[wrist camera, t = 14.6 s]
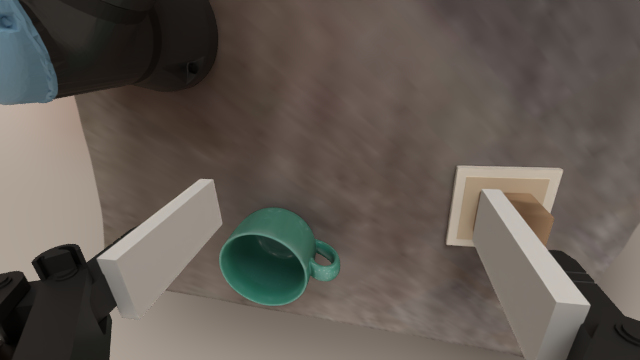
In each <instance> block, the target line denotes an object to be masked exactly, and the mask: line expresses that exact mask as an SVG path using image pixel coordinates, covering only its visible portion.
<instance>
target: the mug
mask: <svg viewBox="0 0 640 360" xmlns="http://www.w3.org/2000/svg"><path fill="white" fill-rule="evenodd" d="M316 253H318V254H320V255H322V256H324V257H325V258H327V259H328V260H329V261H330V262H331V263H332V264H331V265H329V266H322V265H319V264H317V263H316V262H315V261H314V260H315V255H316ZM219 264H220V269H221V271H222V274H223V276H224V278H225V279H226V281H227V282H228V284H229V285H230V286H231V287H232V288H233V289H234V290H235V291H236V292H237V293H239V294H240V295H242V296H243V297H245V298H247V299H249V300H251V301H253V302H256V303H259V304H263V305H268V306H280V305H285V304H288V303H291V302H293V301H295V300H296V299H298V298H299V297H300V296H301V295H302V294H303V292H304V291H305V289H306V286H307V284H308V281H309V278H310V276H312V277H313V278H315V279H317V280H320V281H330V280H333V279H334V278H335V277H336V276H337V275H338V273H339V271H340V259H339V256H338V254H337V252H336V251H335V250H334V249H333V248H332V247H331V246H330V245H328V244H326V243H325V242H322V241H320V240H317V239H315V238H314V235H313V233H312V231H311V229H310V227H309V226H308V225H307V223H306V222H305V221H304V220H303V219H302V218H301V217H299V216H298V215H296V214H295V213H293V212H291V211H289V210H286V209H282V208H274V207H273V208H264V209H260V210H258V211H255V212H253V213H252V214H250V215H249V216H248V217H246V218H245V219H244V220H243V221H242V222H241V223H240V225H239V226H238V227H237V228H236V229H235V230H234V232H233V233H232V234H231V236H230V237H229V238H228V240H227V241H226V242H225V244H224V245H223V247H222V249H221V252H220V256H219Z"/></svg>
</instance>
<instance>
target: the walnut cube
mask: <svg viewBox="0 0 640 360" xmlns="http://www.w3.org/2000/svg"><path fill="white" fill-rule="evenodd" d="M503 194H504V195H505V196H506V198H507V199H508V200H509V201H510V203H511V204H512V205H513V206H514V208H515V209H516V210H517V212H518V213H519V214H520V215H521V217H522V218H523V219H524V221H525V222H526V223H527V224H528V226H529V227H530V228H531V230H532V231H533V232H534V233H535V235H536V236H537V237H538V238H539V240H540V241H541V242H542V244H543V245H544V246H545V247H546V243H547V240H548V237H549V234H550V231H551V227H552V224H553V221H554V217H553V216H552V215H551V214H550V213H549V212H548V211H547V210H546V209H545V208H544V207H543V206H542V205H541V204H540V203H539V202H538V200H537V199H536V198H535V197H534V196H533V195H532V194H530V193H505V192H503ZM480 195H481V192H480V194H479V199H478V204H477V210H476V215H475V220H474V226H473V232H474V227H475V222H476V216H477V211H478V206H479V200H480Z"/></svg>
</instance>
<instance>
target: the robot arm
mask: <svg viewBox="0 0 640 360" xmlns="http://www.w3.org/2000/svg"><path fill="white" fill-rule="evenodd" d="M217 46H218V33H217V25H216V20H215V16H214V13H213V10H212V8H211V5H210V3H209V1H208V0H0V104H2V105H14V104H25V103H37V102H38V103H47V102H50V101H52V99H57V98H62V97H67V96H73V95H78V94H84V93H89V92H94V91H100V90H105V89H110V88H116V87H121V86H126V85H131V84H132V85H136V86H140V87H144V88H148V89H152V90H156V91H162V92H172V91H178V90H182V89H186V88H189V87H192V86H194V85H196V84H197V83H199V82H200V81H201V80H202V79H203V78H204V77H205V76H206V75H207V74H208V72H209V71H210V69H211V67H212V65H213V63H214V60H215V57H216V52H217ZM222 224H223V223H222V219H221V214H220V209H219V204H218V199H217V194H216V190H215V185H214V180H213V179H199V180H198V181H197V182H196V183H194V184H193V185H192V186H190V187H189V188H188V189H186V190H185V191H184V192H182V193H181V194H180V195H179V196H177V197H176V198H175V199H173V200H172V201H171V202H169V203H168V204H167V205H166V206H164V207H163V208H162V209H160V210H159V211H158V212H156V213H155V214H154V215H153V216H151V217H150V218H149V219H147V220H146V221H145V222H143V223H142V224H141V225H139V226H137V227H135V228H132V229H130V230H129V231H128V232H126V233H125V234H124V235H122V236H121V238H118V239H117V240H116V241H114V242H113V244H111V245H109V246H108V247H107V248H105V249H104V250H103V251H101V252H100V253H99V254H97V255H96V256H95V257H93V258H92V259H91V260H89V261H88V262H87V263H86V261H85V258H84V256H83V254H82V252H81V249H80V247H79V246H78V245H76V244H66V245H61V246H57V247H54V248H52V249H49V250H47V251H45V252H43V253H41V254H40V255H39V256H37V257H36V258H35V259H34V260H33V261H32V265H33V266H34V268H35V270H36V272H37V274H38V276H39V278H40V279H41V280H39V281H32V282H28V281H27V279H26V277H25V276H24V274H23V272H20V271H13V272H8V273H3V274H0V360H109V357H110V342H111V327H112V319H111V316H110V314H109V313H110V312H111V311H112V310H113V309H114V308H115V307H116V306H117V308H118V310H119V312H120V315H121V317H122V318H128V319H136V320H140V319H141V318H142V316H143V315H144V314H145V313H146V312H147V311H148V310H149V308H150V307H151V306H152V305H153V304H154V303H155V301H156V300H157V299H158V298H159V297H160V295H162V293H163V292H164V291H165V290H166V289H167V288H168V286H169V285H170V284H171V283H172V282H173V281H174V279H175V278H176V277H177V276H178V275H179V274H180V273H181V271H182V270H183V269H184V268H185V267H186V266H187V264H188V263H189V262H190V261H191V260H192V259H193V258H194V256H195V255H196V254H197V253H198V252H199V251H200V249H201V248H202V247H203V246H204V245H205V244H206V243H207V241H208V240H209V239H210V238H211V237H212V236H213V234H214V233H215V232H216V231H217V230H218V229H219V227H220V226H221V225H222ZM472 241H473V243H474V245H475V248H476V250H477V252H478V254H479V257H480V259H481V261H482V263H483V266H484V268H485V270H486V272H487V275H488V277H489V279H490V281H491V284H492V286H493V288H494V290H495V293H496V295H497V297H498V299H499V302H500V304H501V306H502V308H503V311H504V313H505V315H506V317H507V320H508V322H509V324H510V326H511V328H512V331H513V333H514V335H515V337H516V340H517V342H518V344H519V346H520V349H521V351H522V353H523V355H524V358H525V360H640V321H638V320H635V319H632V318H629V317H626V316H624V315H623V314H622V312H621V311H620V310H619V309H618V308H617V307H616V306H615V304H614V303H613V302H612V301H611V300H610V299H609V298H608V296H607V295H606V294H605V293H604V292H603V291H602V290H601V288H600V287H599V286H598V285H597V284H595V283H594V280H593V279H592V278H591V277H590V276H589V275H588V274H586V271H585V270H584V269H583V268H582V267H581V265H580V264H579V263H578V262H577V261H576V260H574V259H573V258H571V257H570V256H568V255H567V254H565V253H564V252H562V251H556V250H547V249H546V247H545V246H544V245H543V244H542V242H541V241H540V240H539V238H538V237H537V236H536V235H535V233H534V232H533V231H532V230H531V228H530V227H529V226H528V224H527V223H526V222H525V221H524V219H523V218H522V217H521V215H520V214H519V213H518V212H517V210H516V209H515V208H514V206H513V205H512V204H511V203H510V201H509V200H508V199H507V198H506V196H505V195H504V194H503V192H502V191H501V190H499V189H482V190H481V195H480V200H479V206H478V211H477V216H476V222H475V227H474V232H473V238H472Z"/></svg>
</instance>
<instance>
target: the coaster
mask: <svg viewBox="0 0 640 360" xmlns="http://www.w3.org/2000/svg"><path fill="white" fill-rule="evenodd" d="M562 173H563V170H562V169H561V168H541V167H497V166H456V173H455V180H454V187H453V194H452V200H451V207H450V214H449V221H448V228H447V235H446V245H457V246H472V247H475V245H474V243H473V241H472V238H473V226H474V220H475V215H476V210H477V204H478V199H479V194H480V192H481V190H482V189H499V190H501V191H502V192H505V193H530V194H532V195H533V196H534V197H535V198H536V199H537V200H538V202H539V203H540V204H541V205H542V206H543V207H544V208H545V209H546V210H547V211H548V212H549V213H551V209H552V206H553V203H554V199H555V196H556V193H557V189H558V186H559V183H560V179H561V176H562Z"/></svg>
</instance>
